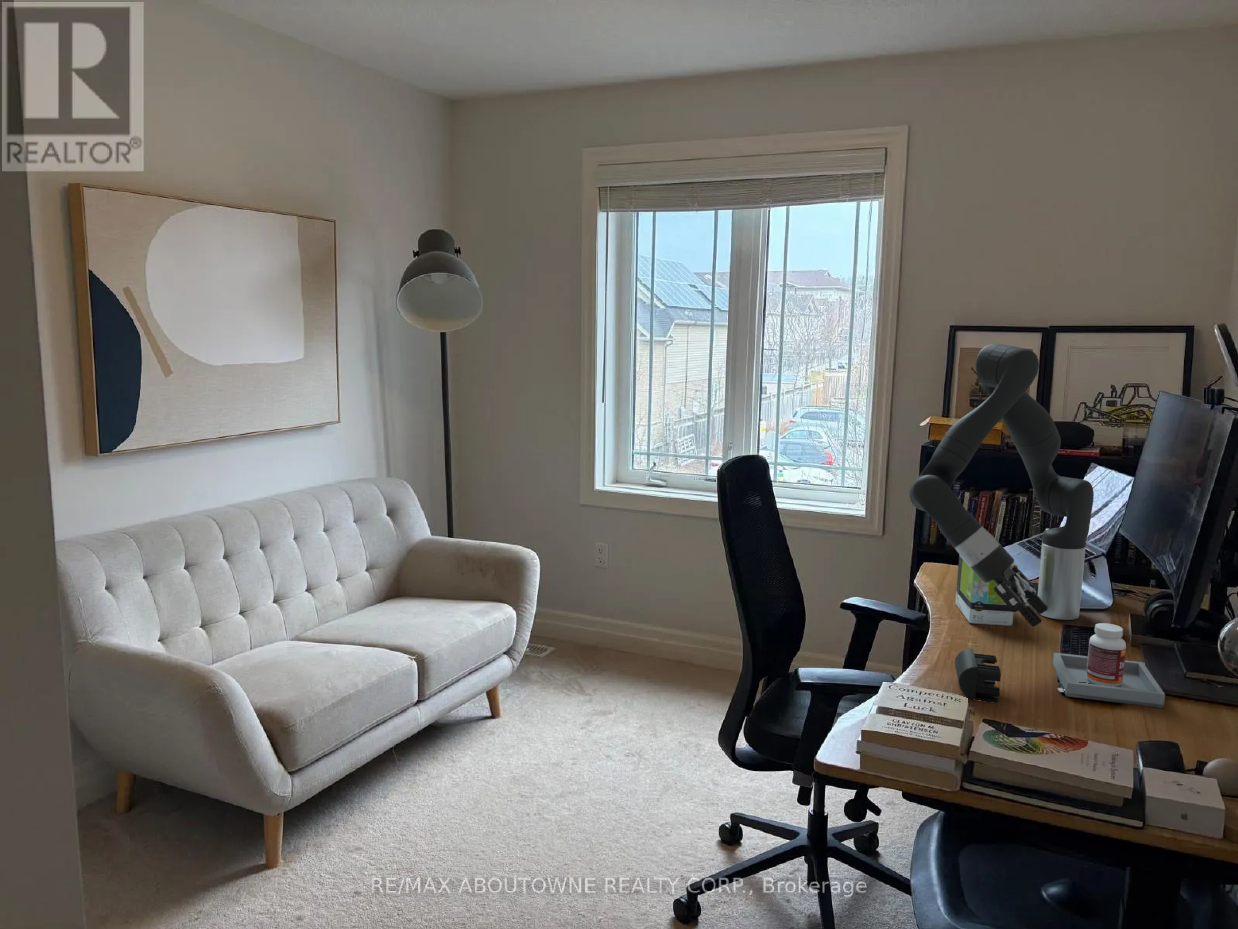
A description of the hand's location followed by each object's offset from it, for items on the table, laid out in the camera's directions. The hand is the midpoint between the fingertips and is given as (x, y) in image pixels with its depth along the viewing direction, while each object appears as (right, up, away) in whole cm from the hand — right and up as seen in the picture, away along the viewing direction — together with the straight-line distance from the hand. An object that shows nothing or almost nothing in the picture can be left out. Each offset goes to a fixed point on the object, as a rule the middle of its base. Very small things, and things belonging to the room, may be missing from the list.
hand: (1041, 617), depth 174 cm
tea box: (+3, -6, +34) cm, 35 cm away
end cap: (-17, -13, -9) cm, 23 cm away
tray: (+9, -12, -6) cm, 16 cm away
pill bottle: (+9, -11, -6) cm, 16 cm away
